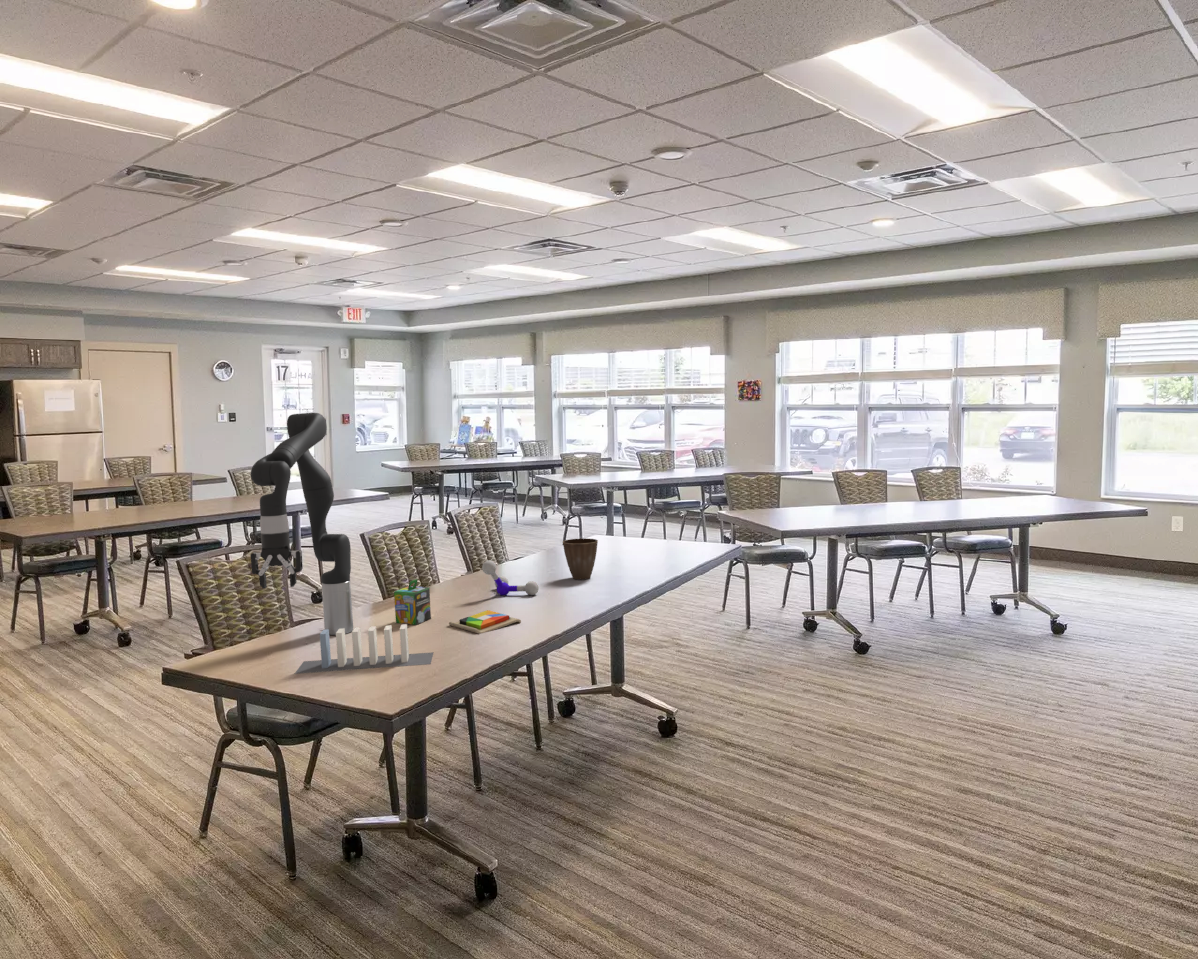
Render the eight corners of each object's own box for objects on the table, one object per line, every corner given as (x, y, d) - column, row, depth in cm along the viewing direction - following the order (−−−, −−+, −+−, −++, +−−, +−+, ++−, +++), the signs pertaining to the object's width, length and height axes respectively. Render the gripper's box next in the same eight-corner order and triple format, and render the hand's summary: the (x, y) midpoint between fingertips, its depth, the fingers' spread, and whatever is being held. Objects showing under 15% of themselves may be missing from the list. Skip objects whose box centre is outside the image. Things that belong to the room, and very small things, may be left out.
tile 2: (338, 667, 244) (335, 633, 243) (341, 661, 249) (339, 628, 248) (343, 666, 244) (341, 632, 244) (346, 661, 249) (344, 628, 248)
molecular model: (534, 600, 323) (532, 561, 322) (482, 600, 326) (480, 561, 325) (546, 587, 344) (544, 551, 343) (497, 588, 347) (495, 552, 346)
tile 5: (385, 663, 246) (383, 629, 245) (388, 658, 251) (386, 625, 250) (391, 663, 246) (389, 629, 245) (393, 658, 251) (391, 625, 250)
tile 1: (322, 668, 244) (319, 634, 243) (325, 663, 249) (323, 629, 248) (327, 667, 244) (325, 633, 243) (331, 662, 249) (328, 629, 248)
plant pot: (561, 575, 367) (560, 539, 365) (595, 573, 369) (594, 537, 368) (566, 582, 352) (565, 544, 351) (602, 580, 355) (600, 542, 353)
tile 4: (369, 664, 245) (367, 631, 244) (372, 659, 250) (370, 626, 249) (375, 664, 245) (373, 630, 245) (377, 659, 250) (375, 626, 250)
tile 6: (401, 662, 246) (399, 628, 245) (403, 657, 251) (401, 624, 250) (407, 662, 246) (405, 628, 246) (408, 657, 251) (407, 624, 251)
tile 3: (354, 665, 245) (351, 632, 244) (356, 660, 250) (354, 627, 249) (359, 665, 245) (357, 631, 244) (362, 660, 250) (360, 627, 249)
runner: (294, 675, 239) (294, 673, 239) (303, 662, 251) (303, 661, 251) (430, 665, 244) (430, 664, 244) (433, 653, 256) (433, 652, 256)
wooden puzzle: (447, 627, 288) (446, 617, 288) (491, 616, 302) (491, 606, 301) (477, 636, 276) (477, 625, 276) (522, 624, 289) (522, 613, 289)
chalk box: (410, 617, 303) (408, 576, 301) (432, 619, 299) (429, 577, 298) (394, 623, 294) (392, 581, 293) (416, 625, 290) (414, 583, 289)
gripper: (244, 533, 238) (249, 591, 239) (297, 531, 240) (301, 588, 241) (252, 530, 245) (256, 586, 247) (303, 527, 247) (307, 583, 248)
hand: (278, 587), depth 244 cm, fingers open, 7 cm apart
